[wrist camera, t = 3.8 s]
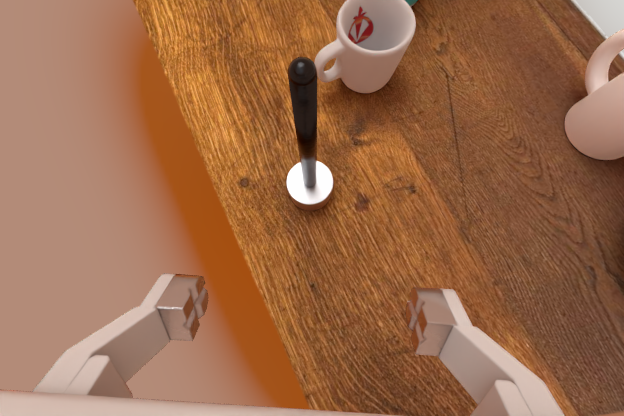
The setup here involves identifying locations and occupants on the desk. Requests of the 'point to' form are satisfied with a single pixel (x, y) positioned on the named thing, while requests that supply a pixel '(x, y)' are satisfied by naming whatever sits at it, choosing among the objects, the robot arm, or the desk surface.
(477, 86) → the desk surface
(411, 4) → the beverage can
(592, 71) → the mug
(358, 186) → the desk surface
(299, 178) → the rod on puck
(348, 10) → the cup
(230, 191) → the desk surface
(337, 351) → the desk surface
